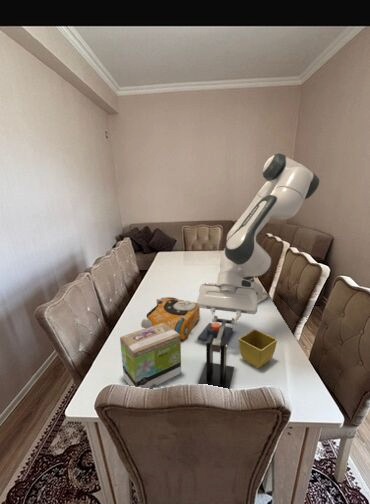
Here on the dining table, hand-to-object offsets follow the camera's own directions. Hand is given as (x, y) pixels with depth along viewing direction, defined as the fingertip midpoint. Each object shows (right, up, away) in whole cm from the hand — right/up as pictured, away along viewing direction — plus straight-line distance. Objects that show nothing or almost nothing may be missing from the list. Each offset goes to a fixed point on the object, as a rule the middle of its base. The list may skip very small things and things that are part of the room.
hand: (224, 323), depth 82 cm
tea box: (-23, -16, -5) cm, 28 cm away
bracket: (-4, -16, -7) cm, 18 cm away
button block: (-1, -9, +15) cm, 17 cm away
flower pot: (+10, -13, 0) cm, 17 cm away
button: (-1, -5, +14) cm, 15 cm away
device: (-18, -5, +27) cm, 33 cm away
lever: (-2, -3, -5) cm, 6 cm away
